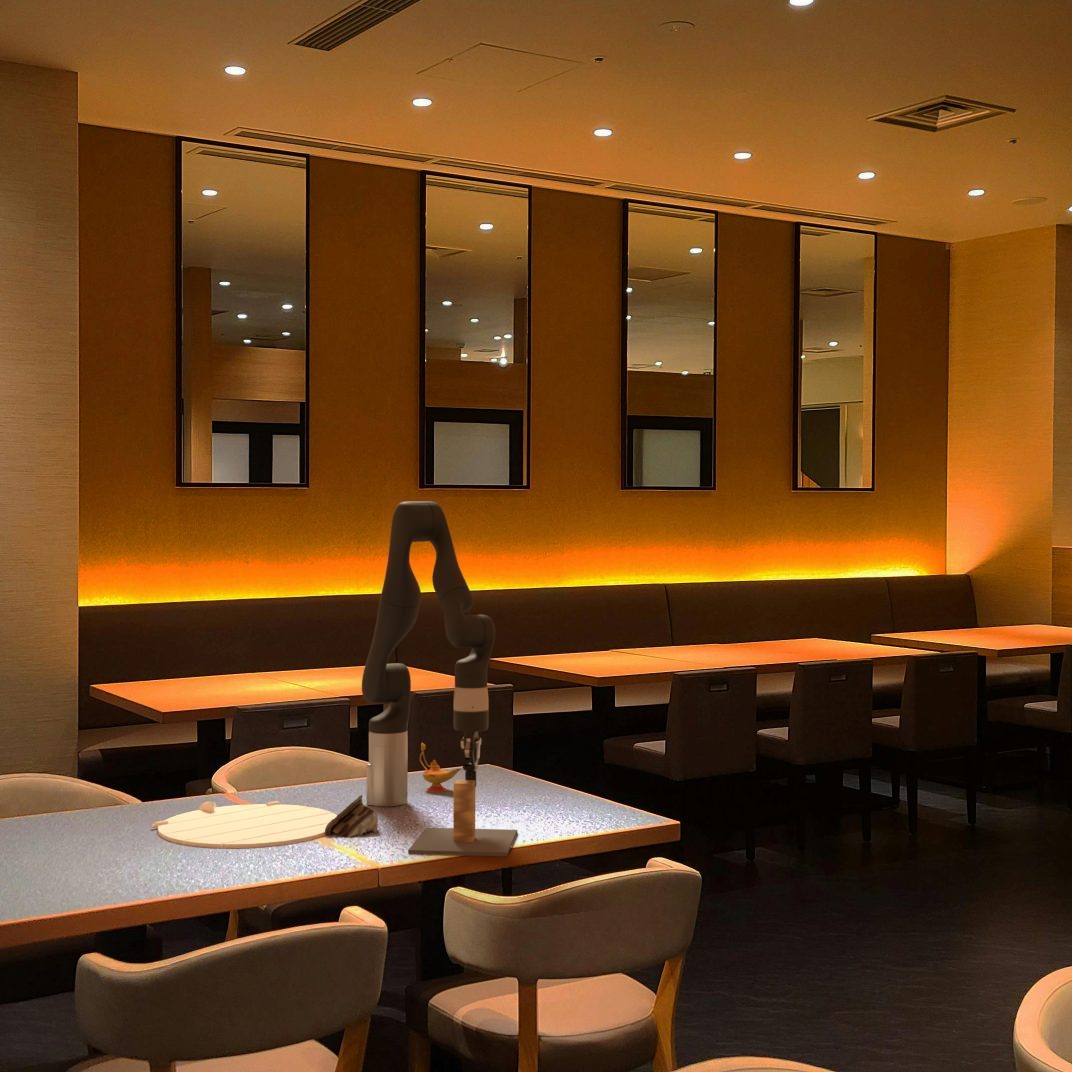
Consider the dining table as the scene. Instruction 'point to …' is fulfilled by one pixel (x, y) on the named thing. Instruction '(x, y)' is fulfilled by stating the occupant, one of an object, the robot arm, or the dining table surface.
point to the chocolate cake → (353, 820)
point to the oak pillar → (464, 811)
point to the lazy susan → (245, 825)
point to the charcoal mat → (482, 845)
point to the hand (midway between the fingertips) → (470, 788)
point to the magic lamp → (436, 774)
